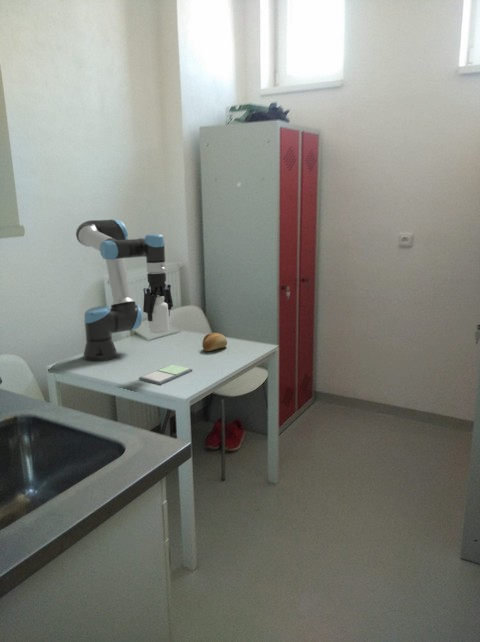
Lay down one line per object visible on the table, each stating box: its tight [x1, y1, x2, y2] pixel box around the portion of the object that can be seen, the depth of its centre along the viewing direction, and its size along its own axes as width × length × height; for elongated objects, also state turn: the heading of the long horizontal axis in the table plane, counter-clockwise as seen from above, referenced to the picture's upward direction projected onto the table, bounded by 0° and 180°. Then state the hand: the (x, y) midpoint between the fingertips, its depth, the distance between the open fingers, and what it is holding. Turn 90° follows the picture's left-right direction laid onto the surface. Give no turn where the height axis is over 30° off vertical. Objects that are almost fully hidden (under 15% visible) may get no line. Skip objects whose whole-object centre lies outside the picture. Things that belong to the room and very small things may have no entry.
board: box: [138, 364, 193, 386], centre depth 213 cm, size 12×20×1 cm, turn 146°
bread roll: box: [201, 332, 228, 352], centre depth 249 cm, size 10×15×8 cm, turn 142°
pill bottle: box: [149, 295, 170, 334], centre depth 212 cm, size 8×8×15 cm
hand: (159, 326), depth 213 cm, fingers closed on pill bottle, 8 cm apart
